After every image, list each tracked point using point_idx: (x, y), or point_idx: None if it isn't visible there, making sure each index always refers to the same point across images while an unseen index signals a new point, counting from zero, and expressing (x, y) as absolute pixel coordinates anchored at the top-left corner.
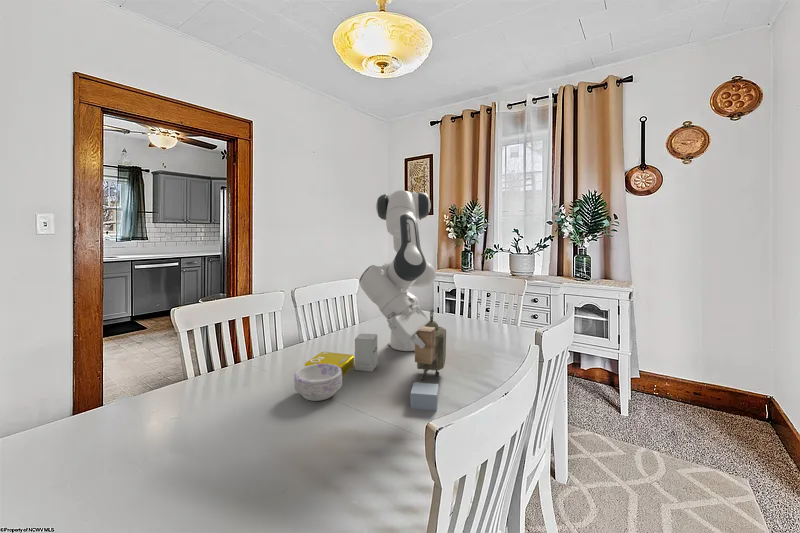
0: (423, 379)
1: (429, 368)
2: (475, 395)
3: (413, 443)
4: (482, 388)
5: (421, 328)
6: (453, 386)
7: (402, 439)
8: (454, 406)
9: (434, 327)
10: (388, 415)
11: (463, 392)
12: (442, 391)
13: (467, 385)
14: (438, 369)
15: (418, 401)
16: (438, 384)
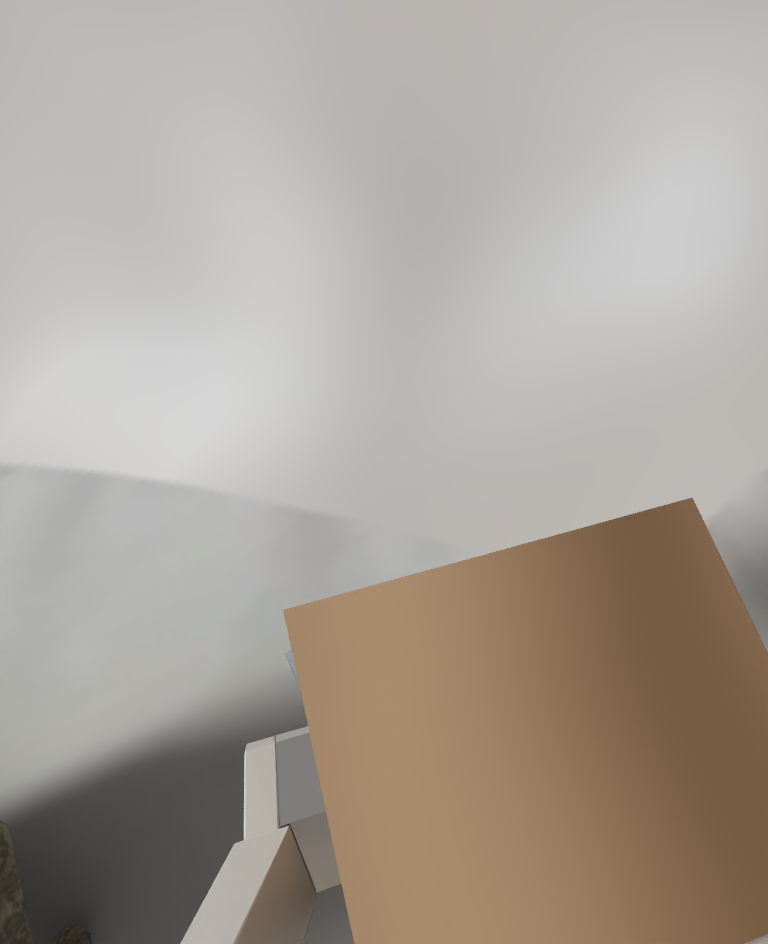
0: (84, 928)
1: (23, 911)
2: (142, 494)
3: (739, 517)
4: (24, 499)
5: (649, 927)
6: (78, 664)
7: (756, 574)
8: (333, 529)
9: (297, 638)
10: None
11: (137, 567)
12: (190, 687)
13: (19, 593)
14: (2, 822)
15: None
16: (291, 650)
